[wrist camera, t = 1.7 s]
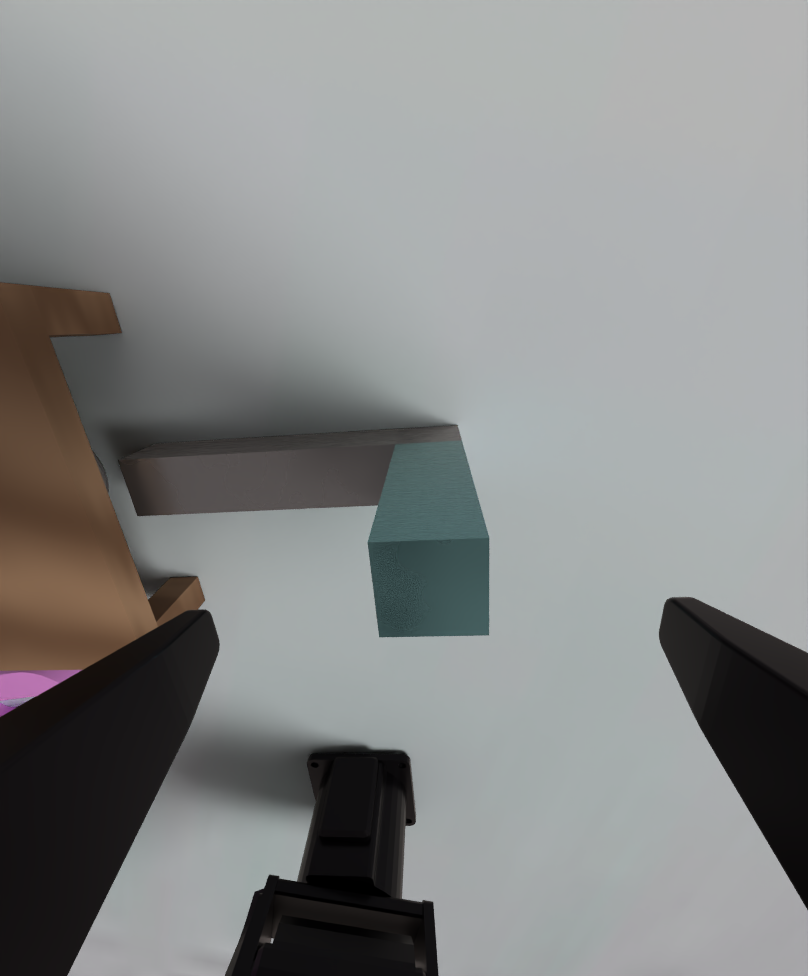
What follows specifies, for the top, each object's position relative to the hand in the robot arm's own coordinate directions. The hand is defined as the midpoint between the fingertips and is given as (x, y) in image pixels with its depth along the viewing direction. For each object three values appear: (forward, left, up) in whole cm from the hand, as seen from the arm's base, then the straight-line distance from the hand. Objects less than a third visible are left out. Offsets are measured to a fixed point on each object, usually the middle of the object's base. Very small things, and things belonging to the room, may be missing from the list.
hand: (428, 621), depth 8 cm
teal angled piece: (0, +6, -11) cm, 12 cm away
